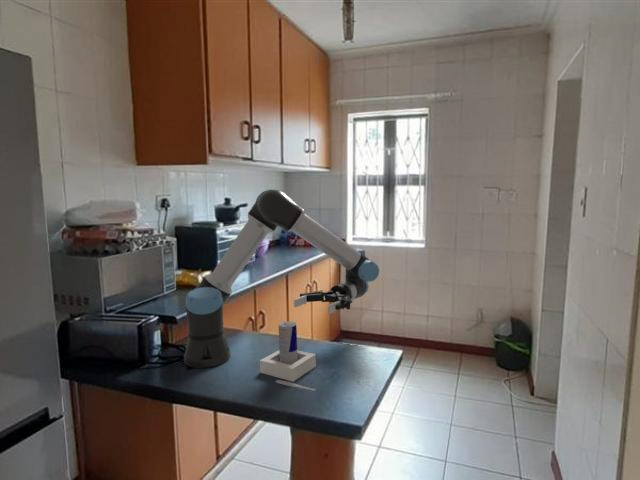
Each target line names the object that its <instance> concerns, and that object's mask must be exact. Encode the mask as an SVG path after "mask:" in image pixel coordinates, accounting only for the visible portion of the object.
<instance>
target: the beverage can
mask: <svg viewBox="0 0 640 480" xmlns="http://www.w3.org/2000/svg"><path fill="white" fill-rule="evenodd" d="M297 334H298V331H297V322H295V321H290V320H289V321H287V320H286V321H281V322H279V323H278V347H279V349H278V350H279V354H280V362H281V363H285V364H289V365H292V364H294V363H295V362H297V361H298V360H297V350H298V337H297Z"/></svg>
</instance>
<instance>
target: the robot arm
mask: <svg viewBox="0 0 640 480" xmlns="http://www.w3.org/2000/svg"><path fill="white" fill-rule="evenodd" d="M278 227H279V228H281V229H283V230H284V231H285V232H287V233H289V232H292V233H294V234H295V235H297V236H298V237H300V238H301V239H302V240H304V241H305V242H307V243H308V244H309V245H311V246H313V247H314V248H316V249H317V250H318V251H320V252H321V253H323V254H324V255H326V256H327V257H329V258H330V259H332V260H333V261H335V262H336V263H337V264H339V265H341V266H342V267H344V269H345V281H343V282H341V283H339V284H336V285H333V286H332V287H331V288H330V289H329V290H327V291H323V290H317V291H311V292H303V293H299V296H298V297H296V298H294V299H293V308H298V307H301V306H303V305H307V303H310V302H311V303H313V302H322V303H330V304H328V307H327V309H328V310H327V311H328V312H327V314H333V313H336V312H337V311H340V310H344V309H346V310H350V309H351V304H352V303H353V300H356V299H358V298H361V297H363V296H364V295H366V294H367V293H368V291H369V283H368V282H374V281H375V280H376V279H377V278H378V277H379V274H380V268H379V265H378V264H377V263H376V262H375V261H374V260H371V259H369V258H368V257H367V256H366V250H364V249H362V248H355V247H353V246H351V245H350V244H349V243H347V242H346V241H344V240H343V239H341V237H338V235H336V234H334V233H332V232H331V230H329V229H327V228H326V227H325V226H323V225H322V224H320V223H318V221H316V220H315V219H313V218H311V217H310V216H309V215H308V214H306V213H305V209H304V208H303V207H301V206H300V205H299V204H298V203H296V202H295V201H294V200H293V199H292V198H291V197H290V196H289V195H287V194H286V192H284V191H281V190H278V189H267V190H265V191H263V192H261V193H260V194H258V196H257V198H256V200H255V202H254V204H253V205H252V207H251V208H250V210H249V211H248V212H247V221H246V223H245V225H244V226H242V229H241V230H240V231H239V233H238V235H237V236H236V237H235V239H234V240H233V242H232V243H231V245H230V246H229V248H228V249H227V250H226V252H225V254H224V255H223V256H222V258H221V259H220V261H219V262H218V264H217V265H216V266H215V268H214V270H213V271H212V273H211V274H205V275H204V277H203V278H202V280H201V281H200V283H199V284H198V285H197V286H196V287H195V288H194V289H193V290H191V291H188V293H187V294H186V296H185V307H186V323H187V343H186V347H185V352H184V354H183V363H184V364H185V365H186V366H187V367H190V368H195V369H197V368H198V369H203V368H206V369H207V368H211V367H215V366H219V365H222V364H223V363H226V362H228V361H229V359H231V349H230V347H229V345H228V342H227V339H226V337H225V332H224V331H225V330H224V328H225V327H224V305H225V304H226V302H227V301H228V299H229V298H230V296H231V295H232V293H233V290H232V287H233V285H234V283H235V282H236V281H237V279H238V278H239V276H240V274H241V273H242V272H243V270H244V269H245V267H246V266H247V264H248V263H249V261H250V260H251V259H252V257H253V256H254V254H255V253H256V251H257V250H258V248H259V247H260V245H261V244H262V243H263V241H264V240H265V238H266V236H268V234H269V233H275V231H276V229H277V228H278Z"/></svg>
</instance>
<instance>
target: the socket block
mask: <svg viewBox="0 0 640 480" xmlns="http://www.w3.org/2000/svg"><path fill="white" fill-rule="evenodd" d="M316 356H317V355H316V353H311V352H308V351H303V350H298V349H297V360H298V361H297V362H295V363H294V364H292V365H289V364H285V363H281V362H280V354H279V349H278V350H276V351H275V352H273V353H271V354H269V355H267V356H265V357H264V358H262V359H260V360H259V365H260V366H259V369H260V371H259V372H260V373H261V374H264V375H268V376H271V377H275V378H278V379H280V380H282V379H283V380H284V381H287V382H291V383H294V382H295V381H296V380H298V379H299V378H300V377H302V376H304V375H305V374H306V373H307V374H308V372H309V371H311V370H312V369H314V368H315V367H317V362H316V359H317V357H316Z"/></svg>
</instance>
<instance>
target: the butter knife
mask: <svg viewBox="0 0 640 480" xmlns="http://www.w3.org/2000/svg"><path fill="white" fill-rule="evenodd" d="M275 383H276V384H281V385H284V386H288V387H293V388H298V389H302V390H307V391H313V392H314V391H316V390H317V389H315V388H313V387H312V388H311V387H308V386H304V385H301V384H297V383H295V382H291V381H288V380H282V379H277V380H275Z"/></svg>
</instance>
